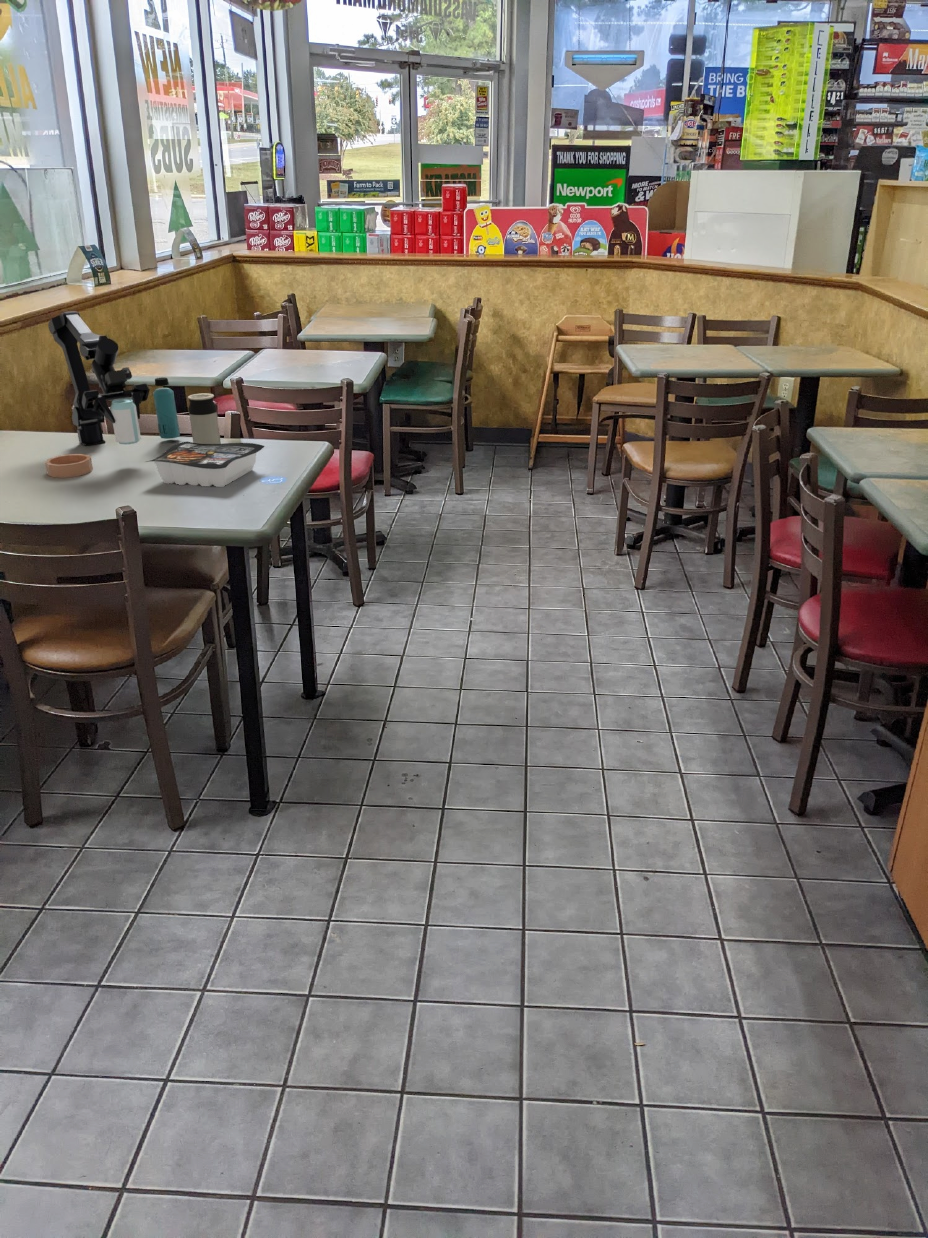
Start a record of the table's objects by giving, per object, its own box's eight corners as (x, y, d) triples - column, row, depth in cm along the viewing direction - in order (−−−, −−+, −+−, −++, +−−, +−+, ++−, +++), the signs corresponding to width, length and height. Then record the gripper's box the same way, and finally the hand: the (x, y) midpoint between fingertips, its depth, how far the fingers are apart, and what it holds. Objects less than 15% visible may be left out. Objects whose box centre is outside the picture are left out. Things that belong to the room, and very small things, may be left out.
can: (110, 443, 285) (103, 402, 280) (129, 437, 291) (122, 397, 286) (128, 446, 282) (121, 404, 277) (146, 440, 288) (140, 399, 282)
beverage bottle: (184, 438, 316) (175, 375, 308) (176, 443, 310) (167, 379, 302) (164, 438, 317) (155, 375, 308) (156, 443, 311) (146, 379, 302)
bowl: (84, 463, 291) (82, 451, 289) (98, 471, 282) (95, 460, 281) (43, 470, 284) (40, 459, 283) (55, 479, 276) (52, 467, 274)
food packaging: (143, 459, 266) (187, 439, 286) (147, 486, 269) (190, 464, 289) (225, 464, 259) (264, 443, 279) (229, 492, 263) (267, 469, 282)
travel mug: (215, 459, 292) (207, 398, 284) (190, 458, 293) (182, 398, 286) (226, 452, 299) (219, 393, 291) (202, 451, 300) (194, 392, 293)
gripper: (77, 362, 274) (98, 409, 271) (142, 354, 284) (162, 398, 281) (73, 386, 283) (93, 431, 280) (136, 377, 293) (156, 421, 290)
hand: (126, 420), depth 283 cm, fingers closed on can, 7 cm apart
